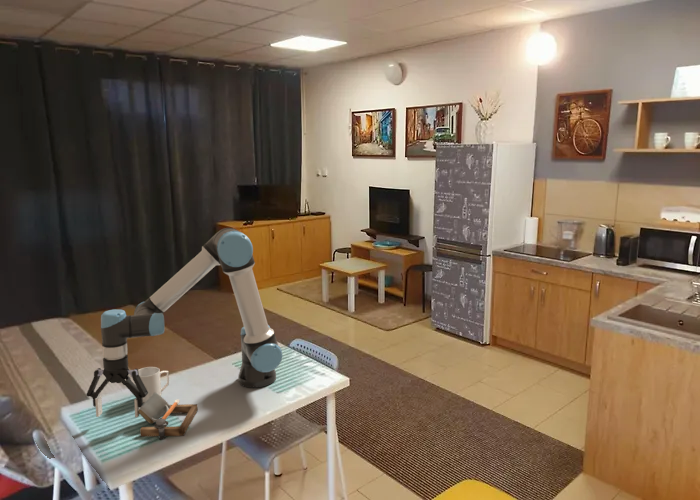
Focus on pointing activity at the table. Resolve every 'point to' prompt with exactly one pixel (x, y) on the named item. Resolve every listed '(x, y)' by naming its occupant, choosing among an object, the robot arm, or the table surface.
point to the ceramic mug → (154, 408)
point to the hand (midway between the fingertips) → (118, 415)
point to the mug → (152, 380)
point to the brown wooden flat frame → (176, 430)
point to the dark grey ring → (161, 430)
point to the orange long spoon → (167, 414)
